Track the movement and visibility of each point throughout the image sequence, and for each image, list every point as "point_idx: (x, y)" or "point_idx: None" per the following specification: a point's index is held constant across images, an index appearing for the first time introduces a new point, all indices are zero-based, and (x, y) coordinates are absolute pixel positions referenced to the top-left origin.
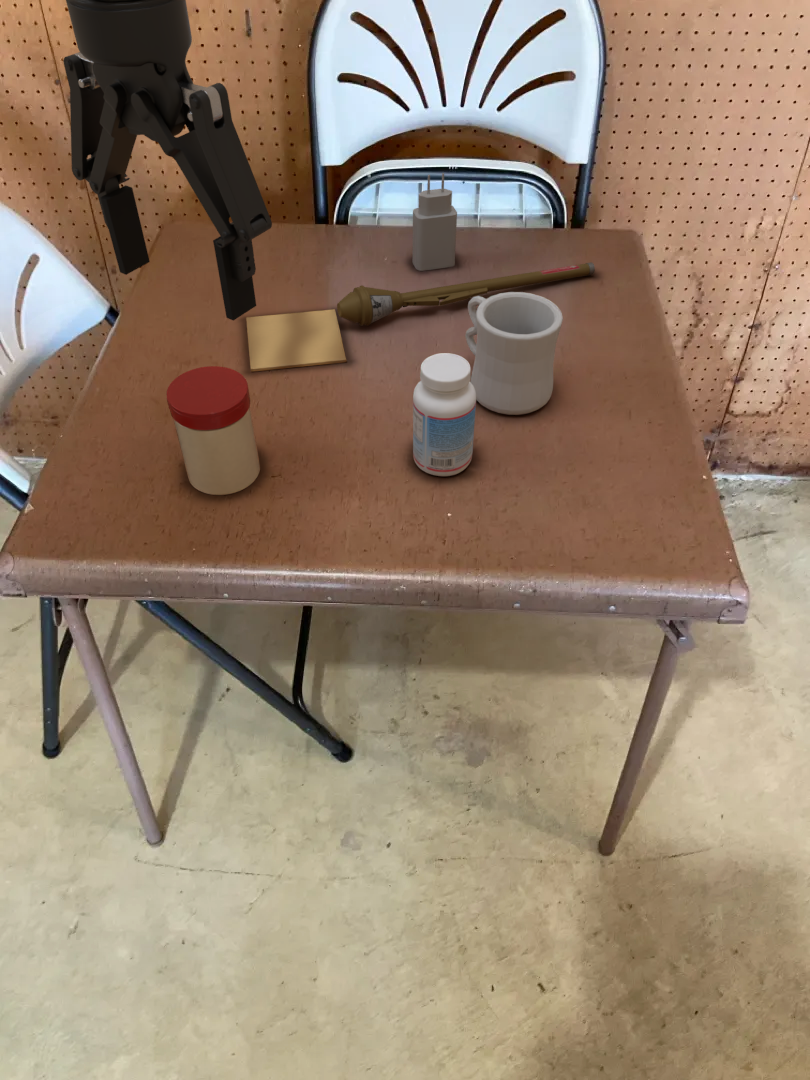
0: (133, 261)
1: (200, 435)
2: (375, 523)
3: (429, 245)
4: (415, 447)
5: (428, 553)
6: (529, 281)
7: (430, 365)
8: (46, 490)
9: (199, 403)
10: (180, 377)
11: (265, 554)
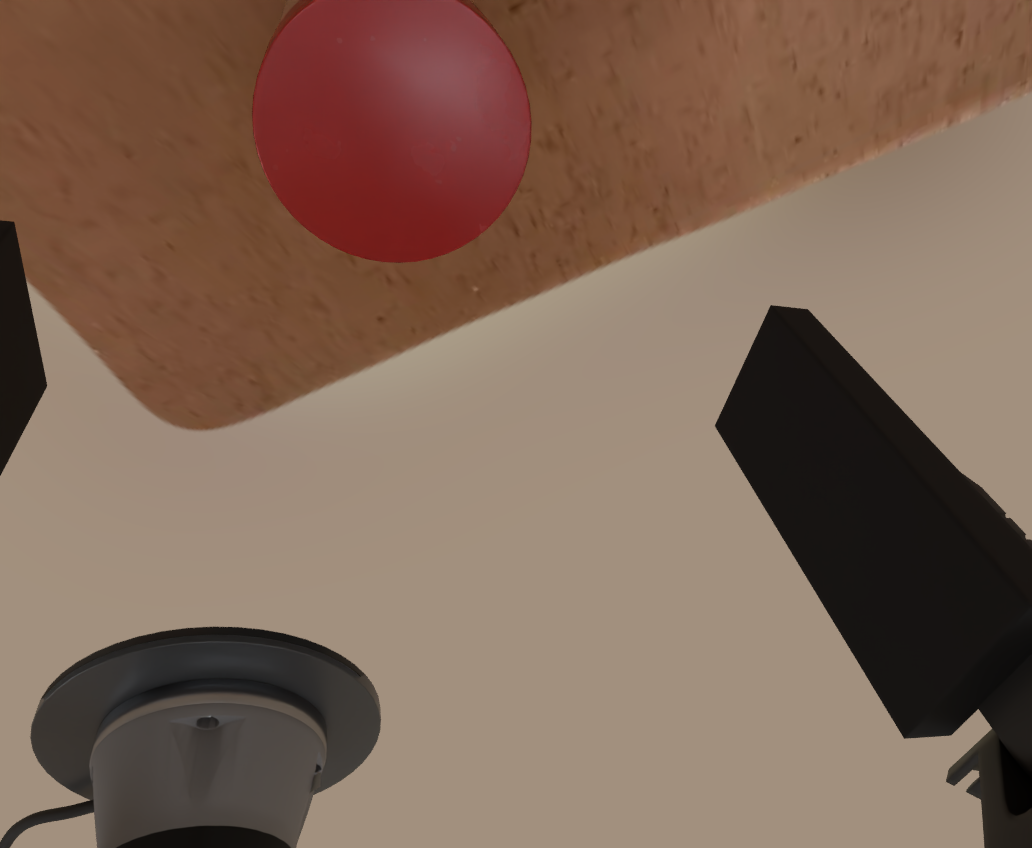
0: (15, 352)
1: None
2: (805, 52)
3: None
4: None
5: (926, 86)
6: None
7: None
8: (61, 303)
9: (421, 210)
10: (266, 121)
11: (610, 238)
